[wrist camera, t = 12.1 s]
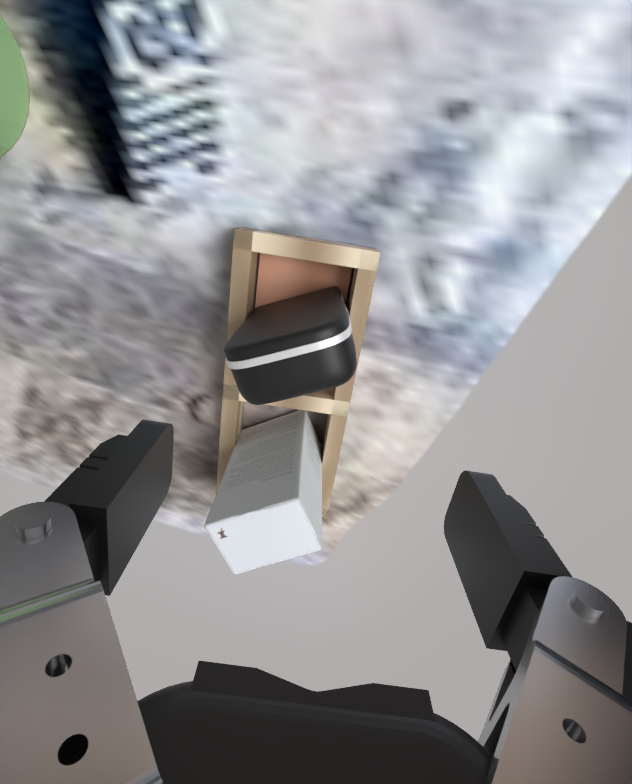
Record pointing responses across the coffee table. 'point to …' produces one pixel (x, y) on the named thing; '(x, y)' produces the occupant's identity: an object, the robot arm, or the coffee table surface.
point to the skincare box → (270, 495)
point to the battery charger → (293, 348)
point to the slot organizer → (286, 280)
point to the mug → (11, 90)
